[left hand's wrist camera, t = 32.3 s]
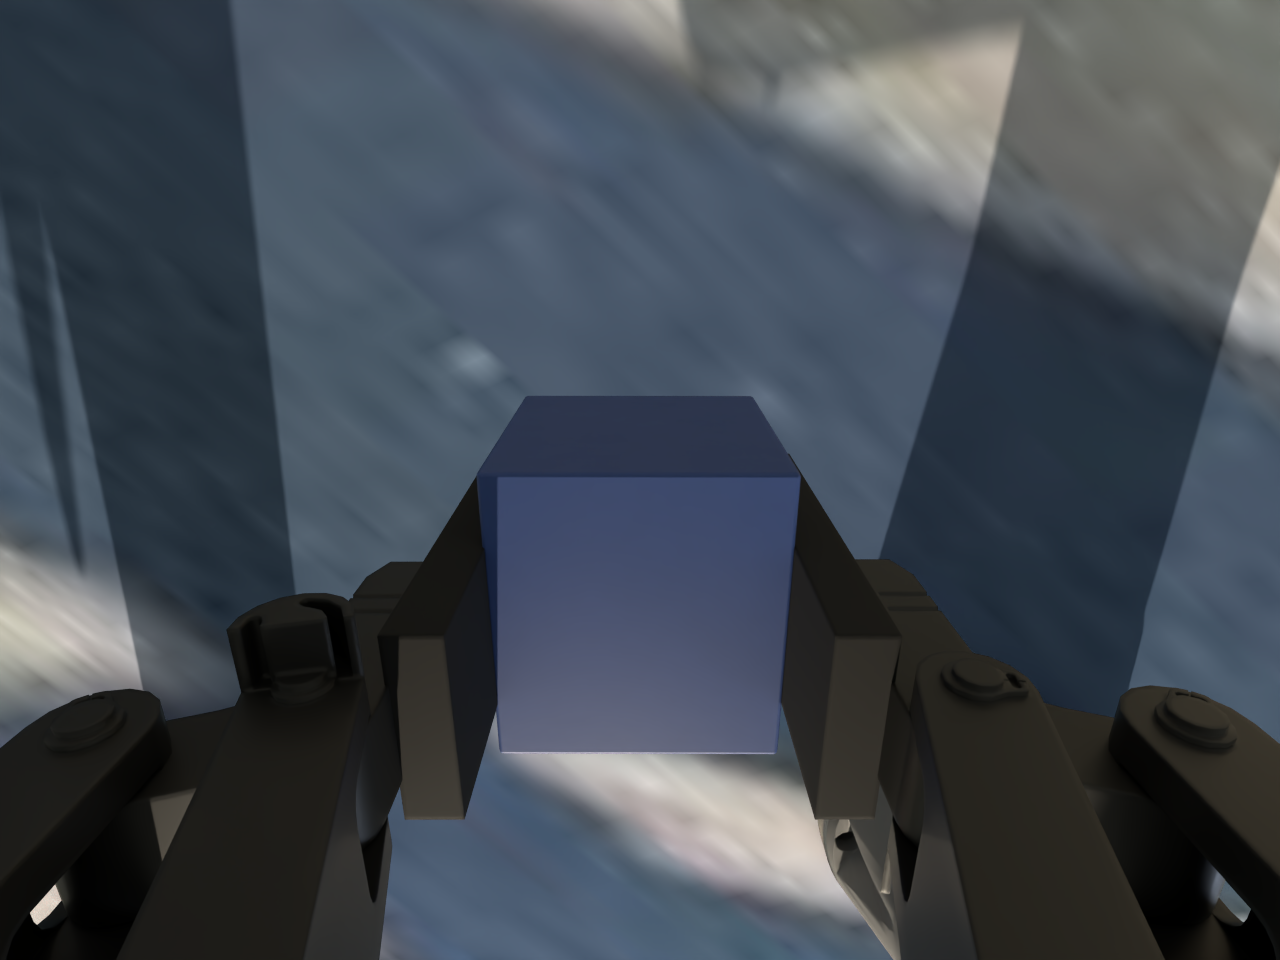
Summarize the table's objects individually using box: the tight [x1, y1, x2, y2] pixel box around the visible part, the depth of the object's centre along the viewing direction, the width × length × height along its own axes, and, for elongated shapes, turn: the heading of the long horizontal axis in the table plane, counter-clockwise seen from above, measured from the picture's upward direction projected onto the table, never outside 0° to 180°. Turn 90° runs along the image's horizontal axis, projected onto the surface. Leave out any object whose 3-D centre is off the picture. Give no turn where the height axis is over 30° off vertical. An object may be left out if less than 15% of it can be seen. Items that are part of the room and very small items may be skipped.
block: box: [476, 396, 801, 754], centre depth 13 cm, size 4×5×4 cm
